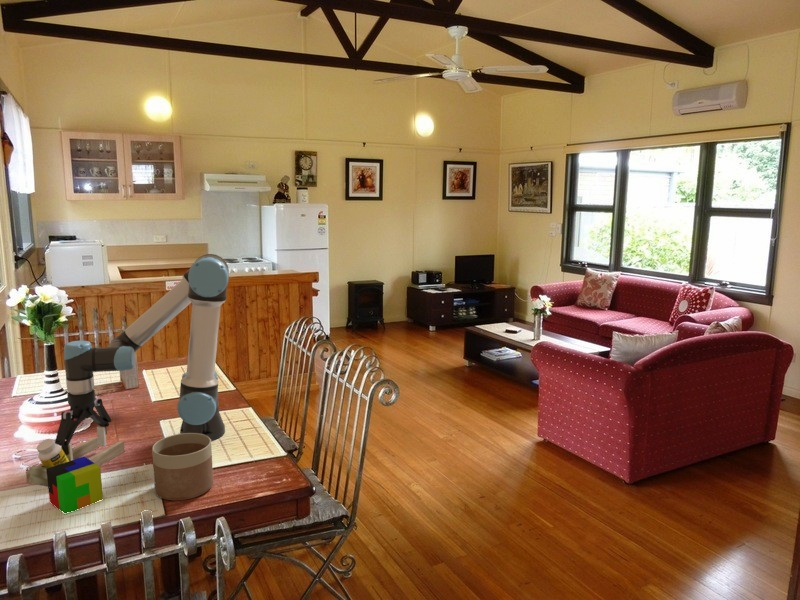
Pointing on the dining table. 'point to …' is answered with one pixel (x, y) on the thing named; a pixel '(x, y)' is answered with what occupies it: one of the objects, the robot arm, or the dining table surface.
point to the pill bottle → (51, 453)
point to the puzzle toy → (74, 484)
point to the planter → (182, 466)
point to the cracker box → (130, 377)
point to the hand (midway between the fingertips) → (86, 454)
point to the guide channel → (40, 474)
